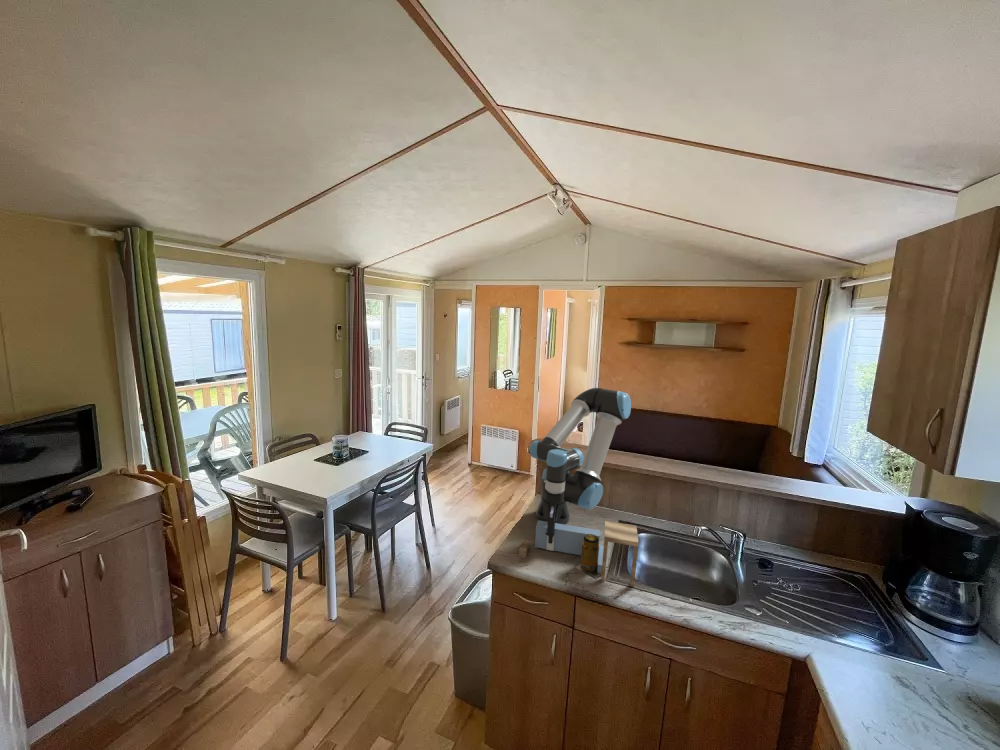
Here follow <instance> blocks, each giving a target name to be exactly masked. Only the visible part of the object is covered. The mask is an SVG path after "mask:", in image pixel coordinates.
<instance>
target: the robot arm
mask: <svg viewBox="0 0 1000 750" xmlns="http://www.w3.org/2000/svg"><path fill="white" fill-rule="evenodd" d="M570 404H571V406H570V407H569V408H568V409H567V411H566V412H565V413H564V414H563V415H562V417H561V418H560V419H559V420H558V421H557V422H556V424H555V425H553V427H552V428H551V430H549V431H548V433H547V434H546V435H545V436H544V437H543V439H542V440H534V441H532V443H531V444H530V445H529V446H530V447H529V454H530V457H532V458H534V459H535V460H538V461H542V462H544V463H545V464H546V468H544V469H543V471H542V477H541V495H540V501H539V502H538V506H537V508H536V510H535V511H536V513H535V514H536V515H535V517H536V519H537V521H538V520H539V521H546V522H548V526H547V533H546V535H547V548H546V549H545V550H546V551H552V552H554V537H555V534H554V530H555V523H558V524H564V525H567V523H569V522H570V519H571V513H570V508H569V504H572V505H575V506H578V507H579V508H581V509H582V508H584V509H586V510H593V509H594V508H596V507H597V506H598V504H599V503H600V502H601V499H602V497H603V494H604V486H603V484H601V483H602V479H601V477H600V475H601V472H602V470H603V469H602V468H603V465H604V463H605V461H606V457H607V454H608V452H609V450H610V449H609V448H610V446H611V443H612V440H613V437H614V435H615V431H616V428H617V426H618V425H621V424H622V422H623V420H626V419H629V417H630V415H631V412H632V411H631V410H632V401H631V397H630V395H629V394H628V393H626V392H623V391H621V390H613V389H607V388H601V387H591V388H589V389H586V390H584V391H583V392H581V393H580V394H578V395H577V396H576V397H575V398H574V399H573V400H572V402H571V403H570ZM590 413H596V414H595V415H596V418H597V421H596V424H595V426H594V429H593V431H592V434H591V437H590V440H589V442H588V445H587V448H586V451H585V453H583V452H582V450H580V449H579V448H576V447H574V448H568V449H567V448H564V447H561V446H562V445H563V444H564V442H565V441H566V440H567V439H568V438H569V437H570V435H571V433H573V431H574V430H575V429H576V428H577V426H578V425H579V424H580V422H581V421H583V419H584V418H585V417H588V416H589V415H590ZM578 467H579V468H578ZM577 468H578V469H577ZM574 469H575V471H574V473H573V474H572V473H570V471H572V470H574ZM568 503H569V504H568Z"/></svg>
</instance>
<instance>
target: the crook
mask: <svg viewBox="0 0 1000 750" xmlns="http://www.w3.org/2000/svg"><path fill="white" fill-rule="evenodd" d="M547 526H548V522H546V521H540V520H538V519H537V522H536V525H535V541H534V542H535V544H534V548H537V549H543V550H546V548H547V535H546V533H547ZM554 534H555V537H554V550H553V552H560V553H565V554H566V553H567V554H571V555H577V556H581V554H582V553H581V552H582V543H583V542H584V536H585V535H586V534H593V535H596V536H597V537H598V538H599V539H600V537H601V535H600V534H601V531H600V529H594V528H590V527H589V528H588V527H582V526H581V527H580V526H578V525H577V526H575V525H570V524H558V523H555V530H554ZM598 542H599V543H600V540H599V541H598ZM603 549H604V544H603V545H602V544H599V555H598V567H597V572H598V573H601V572H602V561H603Z"/></svg>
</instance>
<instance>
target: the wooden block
mask: <svg viewBox="0 0 1000 750" xmlns="http://www.w3.org/2000/svg"><path fill="white" fill-rule="evenodd" d="M529 548H530V539H525V538H524V539H522V541H521V543H520V547H519V550H518V558H522V559H526V557H527V554H528V551H529Z"/></svg>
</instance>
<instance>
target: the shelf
mask: <svg viewBox="0 0 1000 750" xmlns="http://www.w3.org/2000/svg"><path fill="white" fill-rule="evenodd" d="M638 535H639V534H638V528H637V525H633V524H628V523H621V522H616V521H610V520H609V521H608V520H604V536H603V537H604V538H603V539H604V540H603V545H604V549H603V561H602V572H601V575H600V582H605V578H606V570H607V568H606V566H607V557H608V556H607V555H608V548H609V547H608V546H609V543H614V544H615V543H616V544H619V545H620V544H621V545H626V546H632V547H633V551H632V560H631V561H632V562H631V573H630V580H629V582H630V583H629V586H630V588H635V582H636V581H635V579H636V571H637V570H636V569H637V560H638V554H639V553H638V552H639V551H638V550H639V536H638Z"/></svg>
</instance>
